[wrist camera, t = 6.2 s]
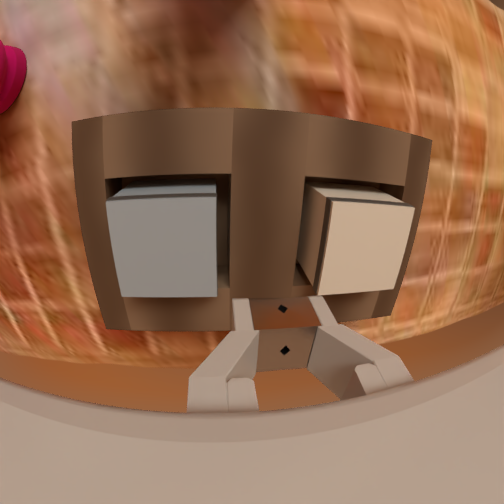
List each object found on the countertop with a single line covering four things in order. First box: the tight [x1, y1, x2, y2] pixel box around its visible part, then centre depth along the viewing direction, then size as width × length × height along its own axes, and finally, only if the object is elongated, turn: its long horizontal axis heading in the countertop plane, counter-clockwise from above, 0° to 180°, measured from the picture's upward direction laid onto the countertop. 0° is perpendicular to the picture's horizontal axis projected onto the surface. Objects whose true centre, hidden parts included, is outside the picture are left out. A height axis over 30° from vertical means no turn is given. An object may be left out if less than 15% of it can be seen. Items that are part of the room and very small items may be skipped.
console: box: [72, 108, 432, 331], centre depth 18 cm, size 22×14×5 cm, turn 88°
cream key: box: [296, 181, 415, 295], centre depth 17 cm, size 6×6×5 cm
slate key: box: [106, 178, 218, 297], centre depth 16 cm, size 6×6×5 cm
